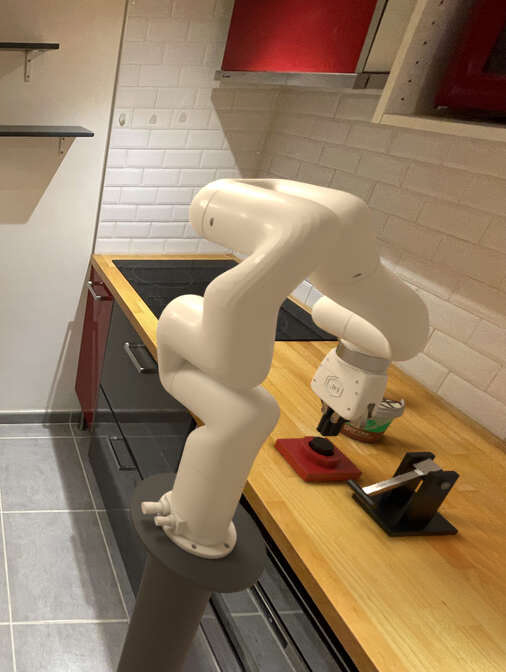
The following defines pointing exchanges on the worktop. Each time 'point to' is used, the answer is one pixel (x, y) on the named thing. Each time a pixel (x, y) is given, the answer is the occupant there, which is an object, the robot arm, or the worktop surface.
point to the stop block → (316, 461)
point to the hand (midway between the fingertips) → (326, 433)
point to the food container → (376, 422)
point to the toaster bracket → (413, 502)
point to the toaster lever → (393, 482)
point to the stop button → (322, 446)
